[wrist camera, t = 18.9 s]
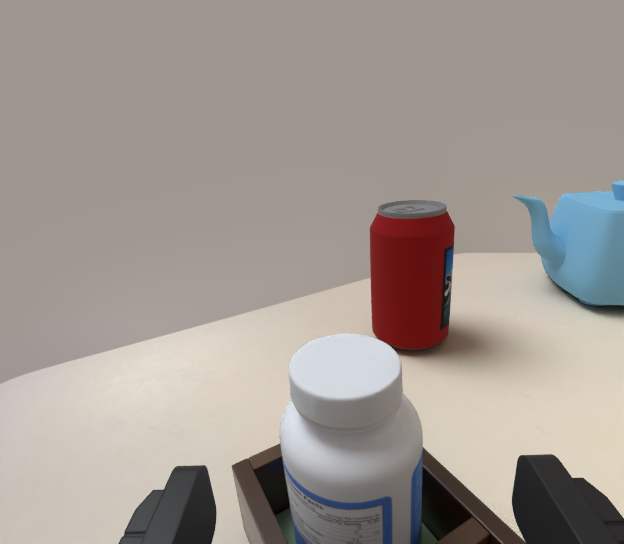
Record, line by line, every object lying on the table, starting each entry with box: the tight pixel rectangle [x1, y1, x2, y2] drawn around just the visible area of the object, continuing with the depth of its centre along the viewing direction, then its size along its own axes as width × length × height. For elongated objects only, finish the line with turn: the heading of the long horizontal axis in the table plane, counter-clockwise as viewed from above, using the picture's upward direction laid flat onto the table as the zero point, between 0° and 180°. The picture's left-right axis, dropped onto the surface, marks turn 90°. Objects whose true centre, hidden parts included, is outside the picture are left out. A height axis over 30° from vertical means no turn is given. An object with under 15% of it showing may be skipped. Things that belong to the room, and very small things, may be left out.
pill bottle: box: [280, 334, 423, 544], centre depth 15 cm, size 6×5×10 cm
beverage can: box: [370, 200, 454, 350], centre depth 33 cm, size 7×7×12 cm
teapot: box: [513, 181, 624, 306], centre depth 38 cm, size 12×18×12 cm
